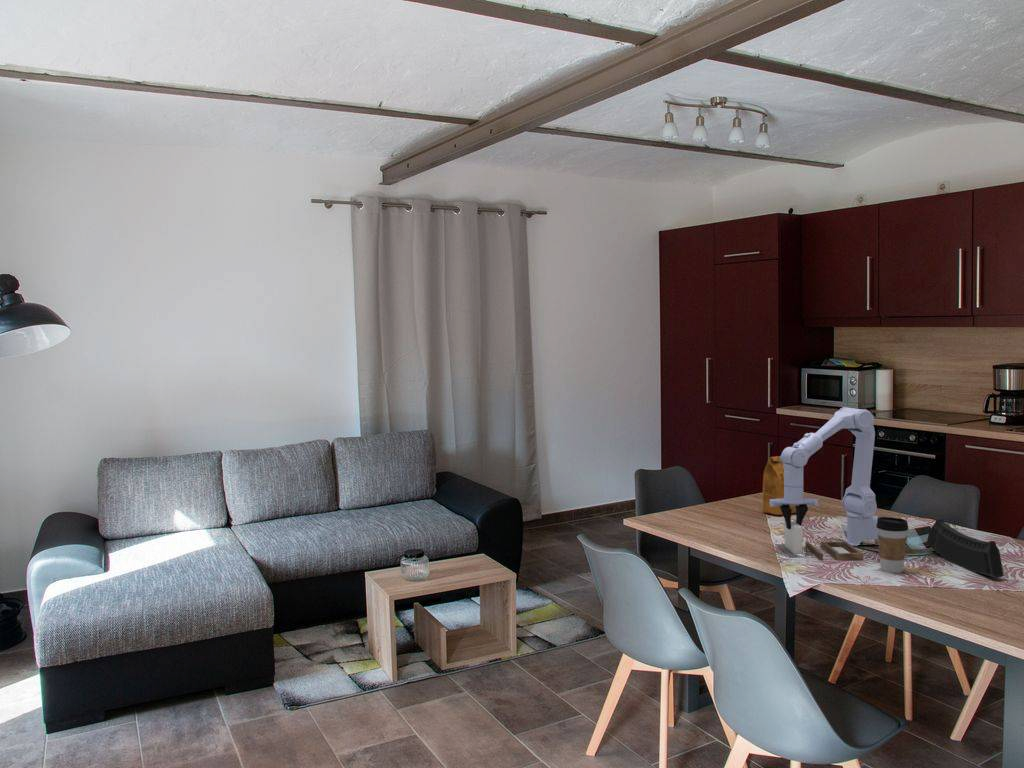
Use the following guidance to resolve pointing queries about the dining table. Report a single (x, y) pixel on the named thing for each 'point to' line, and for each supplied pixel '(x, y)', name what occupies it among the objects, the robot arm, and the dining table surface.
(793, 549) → the white rectangular block
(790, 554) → the mat
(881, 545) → the coffee cup
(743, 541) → the dining table surface
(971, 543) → the magazine
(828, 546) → the brown wooden frame
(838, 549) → the offcut upper
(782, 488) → the coffee package
